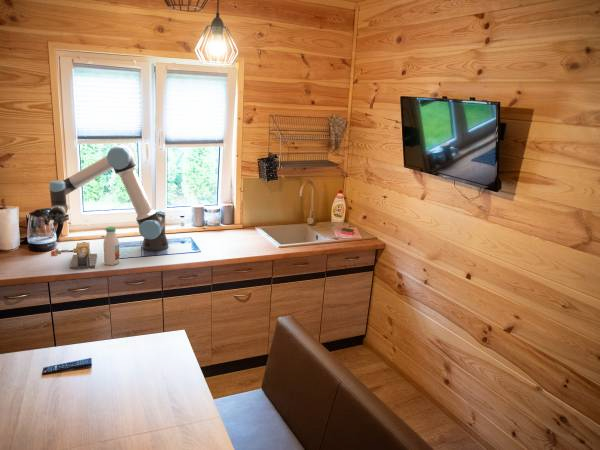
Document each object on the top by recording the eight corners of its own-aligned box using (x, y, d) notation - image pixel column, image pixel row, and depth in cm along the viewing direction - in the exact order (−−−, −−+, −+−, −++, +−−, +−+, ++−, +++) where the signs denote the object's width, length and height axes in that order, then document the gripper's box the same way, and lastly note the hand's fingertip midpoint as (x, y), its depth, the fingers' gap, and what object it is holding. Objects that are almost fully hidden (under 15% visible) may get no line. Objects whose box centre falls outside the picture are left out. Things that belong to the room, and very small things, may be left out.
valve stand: (97, 256, 259) (96, 238, 256) (95, 268, 242) (94, 249, 239) (73, 257, 255) (72, 239, 252) (69, 269, 238) (68, 250, 235)
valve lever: (73, 247, 246) (69, 250, 229) (73, 253, 246) (69, 256, 229) (55, 248, 243) (50, 250, 226) (56, 254, 244) (50, 257, 226)
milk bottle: (111, 266, 246) (109, 231, 240) (100, 263, 249) (99, 227, 243) (122, 262, 252) (121, 227, 246) (112, 258, 256) (111, 224, 250)
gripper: (71, 220, 248) (66, 232, 227) (43, 221, 244) (36, 234, 222) (70, 206, 246) (64, 218, 225) (42, 207, 242) (34, 219, 220)
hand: (50, 226), depth 224 cm, fingers closed
